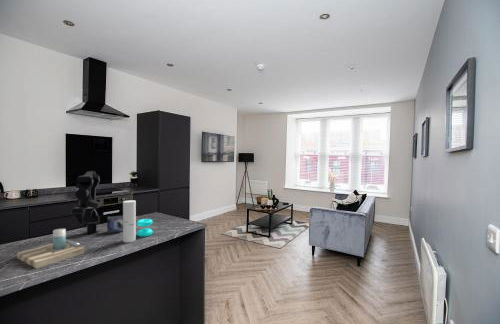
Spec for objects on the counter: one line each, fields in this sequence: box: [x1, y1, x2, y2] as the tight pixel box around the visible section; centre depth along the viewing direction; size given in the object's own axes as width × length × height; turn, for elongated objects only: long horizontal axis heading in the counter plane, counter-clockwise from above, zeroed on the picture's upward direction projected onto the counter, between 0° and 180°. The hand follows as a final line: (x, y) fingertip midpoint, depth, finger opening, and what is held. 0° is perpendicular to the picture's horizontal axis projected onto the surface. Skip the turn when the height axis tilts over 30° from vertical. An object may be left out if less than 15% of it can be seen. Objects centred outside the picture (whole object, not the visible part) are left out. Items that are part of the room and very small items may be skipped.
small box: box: [106, 215, 123, 235], centre depth 170 cm, size 11×6×10 cm, turn 117°
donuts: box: [136, 218, 154, 238], centre depth 164 cm, size 10×10×10 cm
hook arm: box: [66, 238, 81, 247], centre depth 137 cm, size 14×2×2 cm, turn 61°
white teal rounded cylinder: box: [52, 228, 67, 253], centre depth 132 cm, size 6×6×13 cm
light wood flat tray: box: [16, 243, 85, 269], centre depth 129 cm, size 22×21×3 cm
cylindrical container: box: [122, 199, 137, 243], centre depth 153 cm, size 7×7×25 cm
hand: (85, 221), depth 148 cm, fingers open, 9 cm apart
